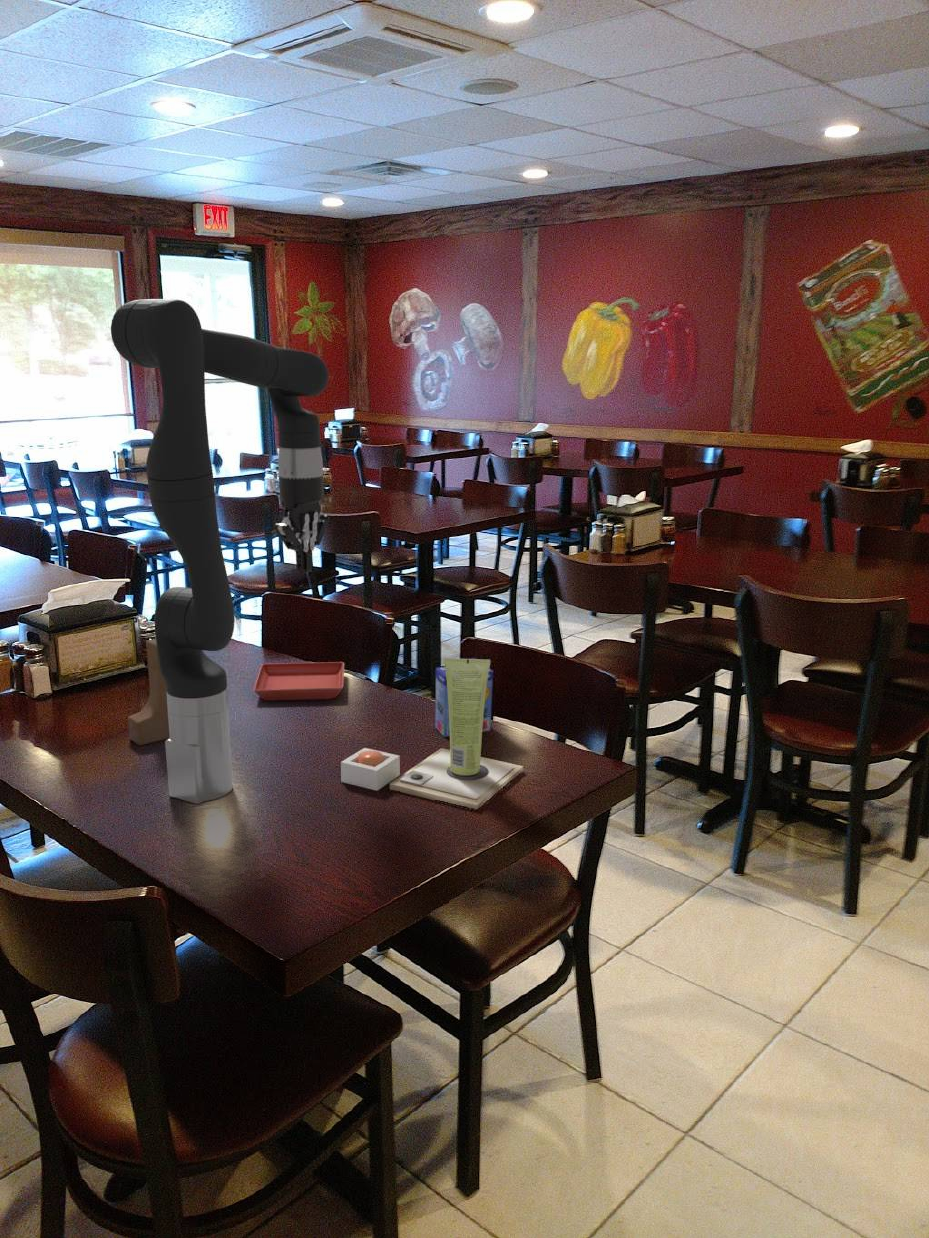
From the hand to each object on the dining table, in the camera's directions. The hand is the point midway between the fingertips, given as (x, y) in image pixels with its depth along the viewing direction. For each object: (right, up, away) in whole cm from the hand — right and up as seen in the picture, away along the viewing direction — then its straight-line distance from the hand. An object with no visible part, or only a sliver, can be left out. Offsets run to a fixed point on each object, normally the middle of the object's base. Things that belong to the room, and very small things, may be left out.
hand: (304, 571), depth 172 cm
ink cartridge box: (+28, -30, +12) cm, 42 cm away
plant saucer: (-6, -24, +34) cm, 42 cm away
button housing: (+13, -35, -10) cm, 38 cm away
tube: (+29, -34, -10) cm, 45 cm away
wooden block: (-28, -30, +7) cm, 42 cm away
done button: (+13, -34, -10) cm, 38 cm away
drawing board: (+27, -35, -10) cm, 46 cm away
